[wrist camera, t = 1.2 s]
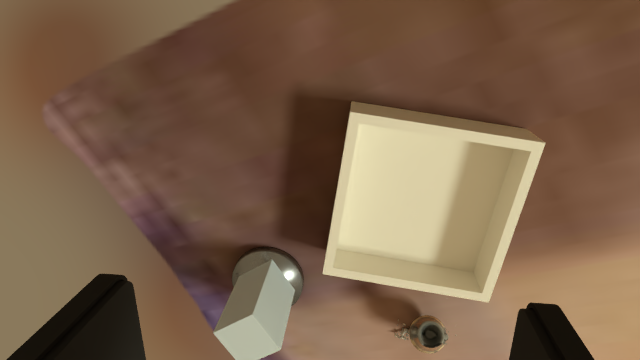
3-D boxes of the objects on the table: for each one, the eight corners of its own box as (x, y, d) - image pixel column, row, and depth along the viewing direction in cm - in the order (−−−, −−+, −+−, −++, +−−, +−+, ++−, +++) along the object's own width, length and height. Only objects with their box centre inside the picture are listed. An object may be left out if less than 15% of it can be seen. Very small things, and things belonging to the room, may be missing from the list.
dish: (326, 250, 42) (322, 273, 38) (351, 101, 36) (350, 111, 32) (477, 275, 41) (488, 302, 37) (526, 128, 36) (545, 143, 32)
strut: (262, 305, 43) (241, 366, 36) (239, 276, 42) (213, 332, 35) (294, 290, 42) (280, 349, 35) (272, 259, 41) (252, 314, 34)
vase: (396, 288, 43) (407, 329, 37) (451, 289, 43) (470, 331, 37) (391, 332, 44) (401, 378, 39) (443, 334, 44) (461, 380, 39)
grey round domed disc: (232, 299, 45) (230, 305, 44) (237, 241, 42) (234, 246, 41) (299, 311, 45) (297, 317, 44) (307, 253, 42) (306, 258, 41)
